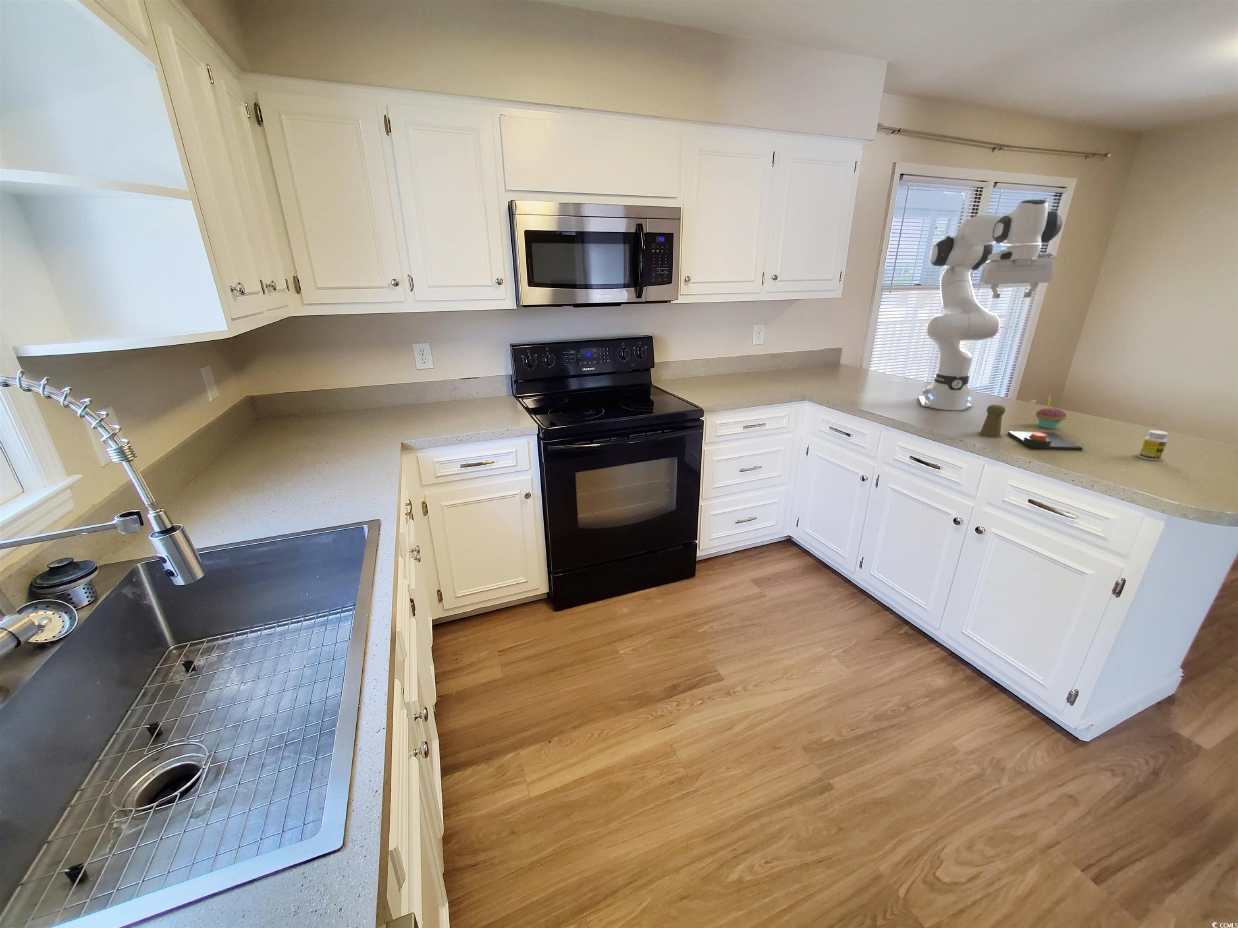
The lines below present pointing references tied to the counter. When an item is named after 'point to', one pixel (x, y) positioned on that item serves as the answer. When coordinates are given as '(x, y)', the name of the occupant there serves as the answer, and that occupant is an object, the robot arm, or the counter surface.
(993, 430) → the cork
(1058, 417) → the cupcake
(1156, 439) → the supplement bottle
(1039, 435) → the tare button
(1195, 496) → the counter surface
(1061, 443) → the scale
